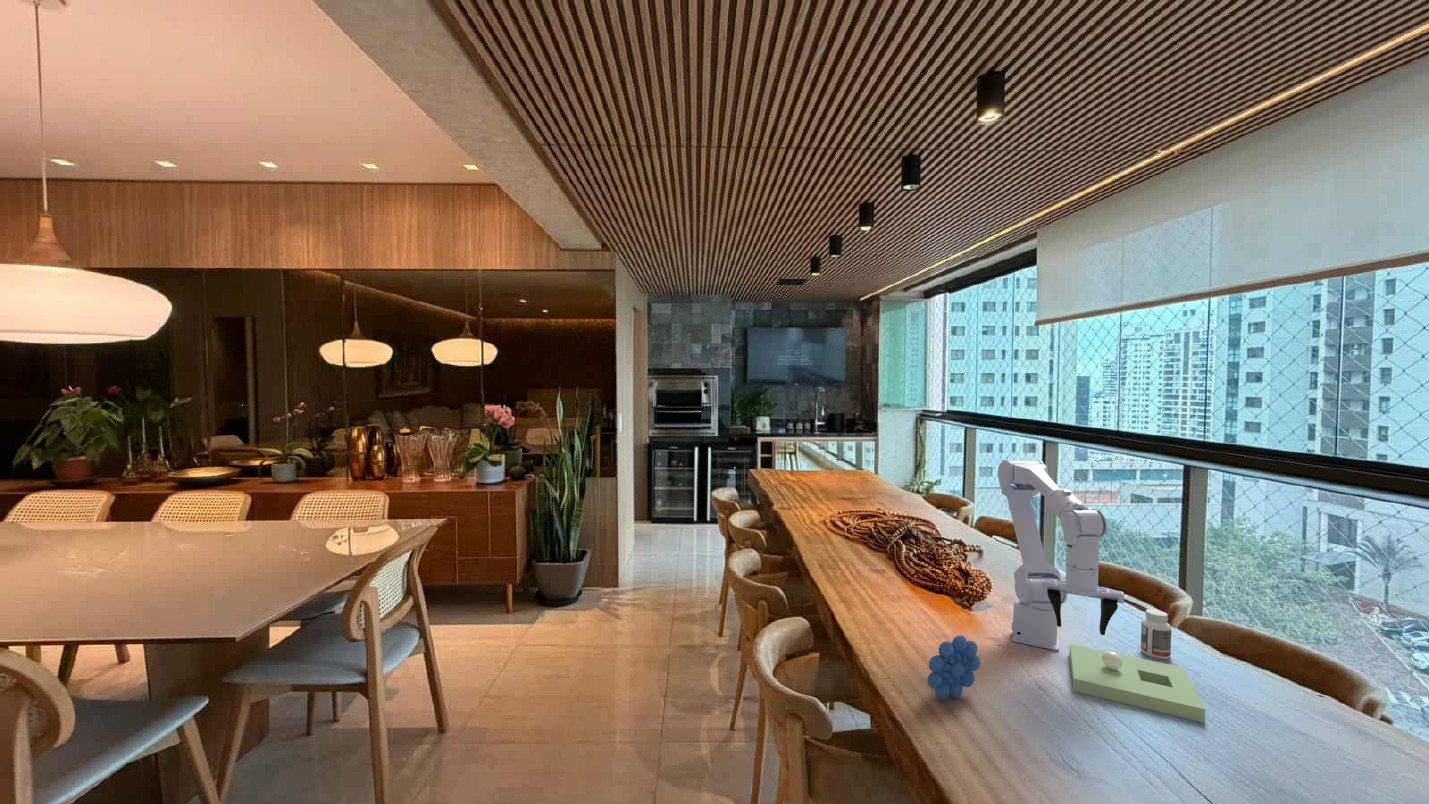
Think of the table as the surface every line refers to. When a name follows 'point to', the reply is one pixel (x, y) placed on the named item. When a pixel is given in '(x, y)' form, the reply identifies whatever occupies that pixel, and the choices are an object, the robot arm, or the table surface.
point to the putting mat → (1136, 683)
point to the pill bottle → (1156, 635)
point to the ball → (1112, 660)
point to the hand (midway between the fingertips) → (1080, 629)
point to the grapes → (953, 667)
